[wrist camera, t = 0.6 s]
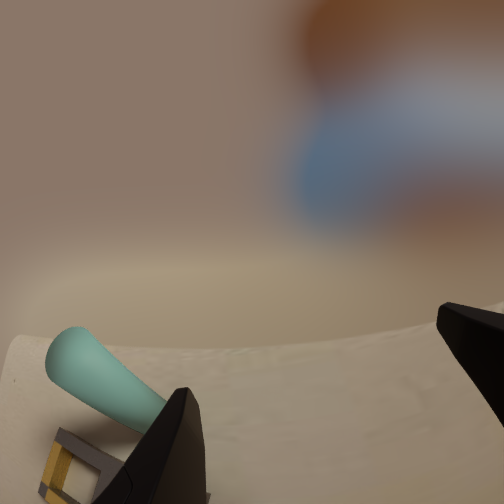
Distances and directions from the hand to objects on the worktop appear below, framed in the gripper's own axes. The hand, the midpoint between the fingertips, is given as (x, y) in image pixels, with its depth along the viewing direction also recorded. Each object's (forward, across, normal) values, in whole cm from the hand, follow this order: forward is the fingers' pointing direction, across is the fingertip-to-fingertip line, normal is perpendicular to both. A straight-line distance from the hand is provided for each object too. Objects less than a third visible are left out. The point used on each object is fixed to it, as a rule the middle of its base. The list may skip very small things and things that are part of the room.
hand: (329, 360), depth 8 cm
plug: (+10, +13, +13) cm, 21 cm away
